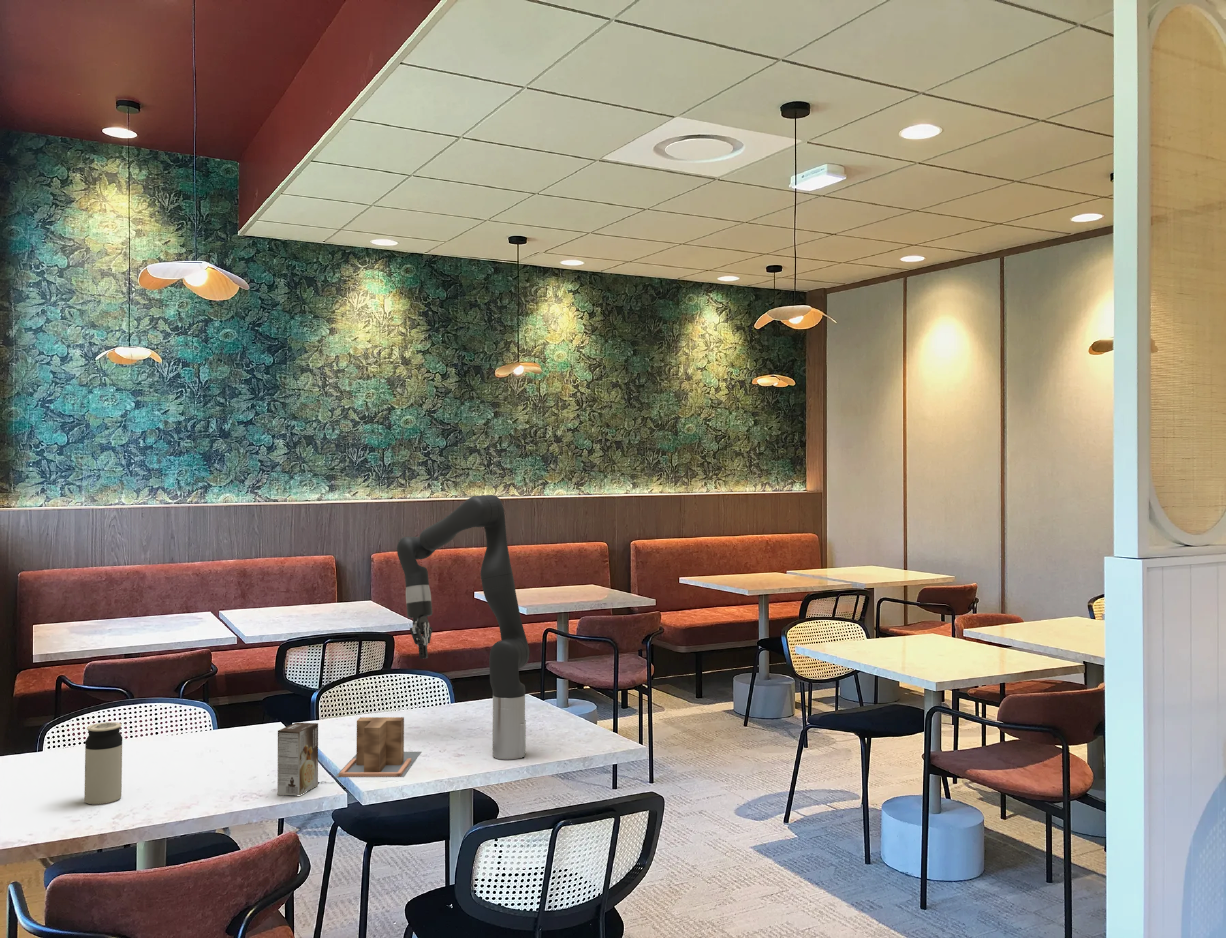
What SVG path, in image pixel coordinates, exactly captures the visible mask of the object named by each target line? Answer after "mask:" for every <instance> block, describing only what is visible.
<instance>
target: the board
mask: <svg viewBox="0 0 1226 938" xmlns="http://www.w3.org/2000/svg"><path fill="white" fill-rule="evenodd" d="M421 753H422V751H404V761H403V763H402V764H401V765H386V766H385V767H384V768H383V770H382V771H381V772H364V765H356V754H355V755H354V756H353V757H352V758H351V759H350V760H349V761H348V762H347V763H346V764H345V765H344V767H343V768H342V769H340V771H339V772H338V773H336V775H335V777H334V778H405V777H406V775H407V774H408V772H409V771H410V769H411V768H412V766H413V765H414V763H415V762H416V761H417V759H418V758H419V757H420V755H421Z"/></svg>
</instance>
